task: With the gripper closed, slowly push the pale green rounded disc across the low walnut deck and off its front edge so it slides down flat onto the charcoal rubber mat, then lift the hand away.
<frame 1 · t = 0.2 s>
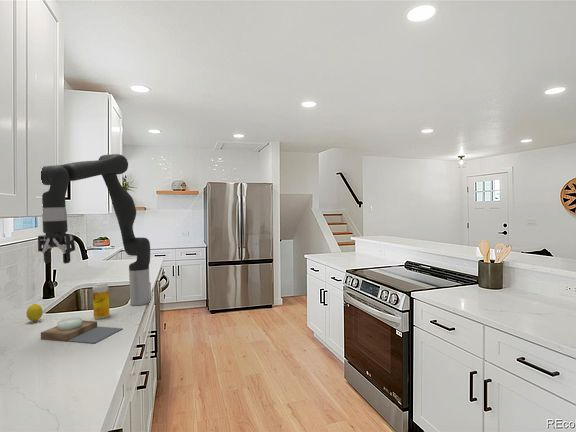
hand: (57, 263, 124), 28 cm above the countertop, fingers open, 8 cm apart
deck: (70, 333, 129), on the countertop
pale green rounded disc: (70, 326, 129), point 2 cm above the countertop, touching deck
mat: (96, 335, 127), on the countertop
lemon: (35, 322, 143), on the countertop
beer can: (101, 317, 147), on the countertop
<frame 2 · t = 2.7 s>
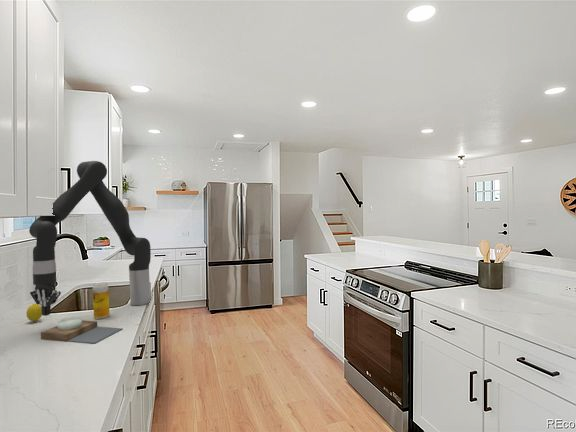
hand: (46, 315, 131), 7 cm above the countertop, fingers closed
nothing on the countertop moved.
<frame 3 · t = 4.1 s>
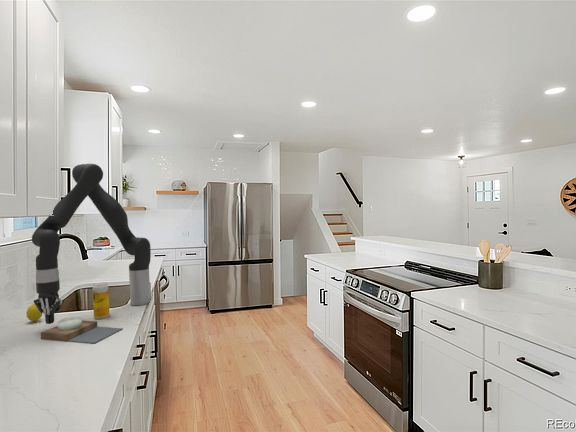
hand: (49, 323, 132), 3 cm above the countertop, fingers closed
nothing on the countertop moved.
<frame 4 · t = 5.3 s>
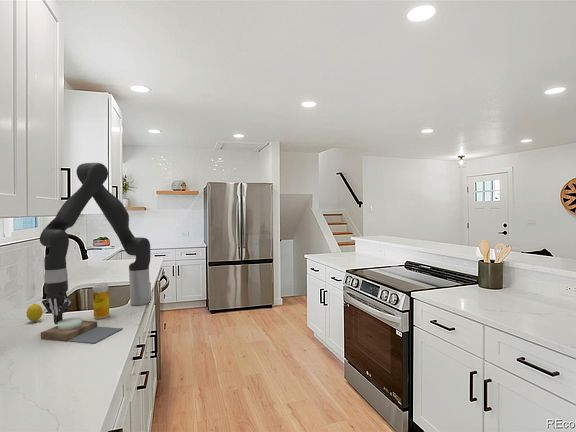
hand: (58, 323, 131), 3 cm above the countertop, fingers closed
pale green rounded disc: (70, 326, 129), point 3 cm above the countertop, touching deck, gripper
everything else where it was.
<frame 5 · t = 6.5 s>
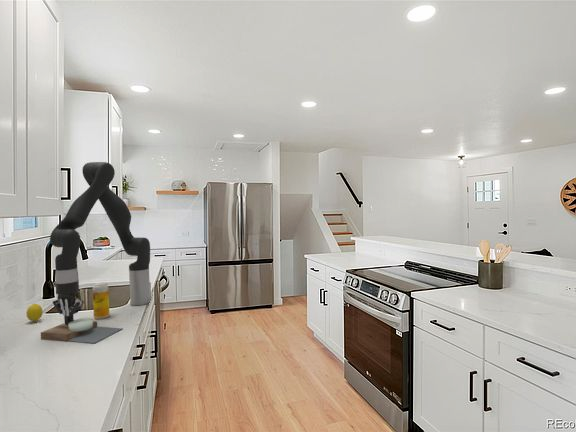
hand: (69, 324, 129), 3 cm above the countertop, fingers closed
pale green rounded disc: (81, 327, 128), point 2 cm above the countertop, touching deck
everything else where it was.
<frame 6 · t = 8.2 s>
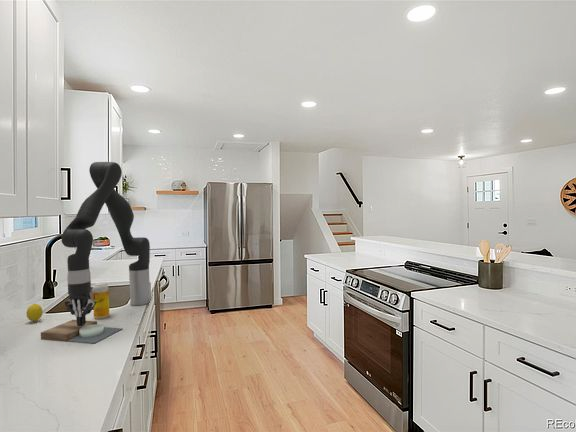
hand: (81, 325, 128), 3 cm above the countertop, fingers closed
pale green rounded disc: (91, 334, 127), resting on mat
everything else where it was.
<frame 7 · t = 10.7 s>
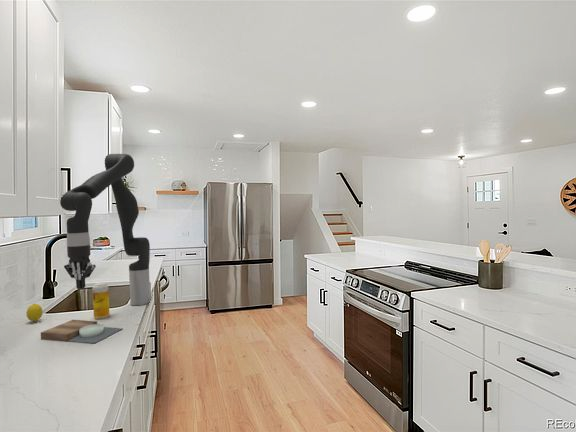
hand: (80, 288, 128), 17 cm above the countertop, fingers closed
nothing on the countertop moved.
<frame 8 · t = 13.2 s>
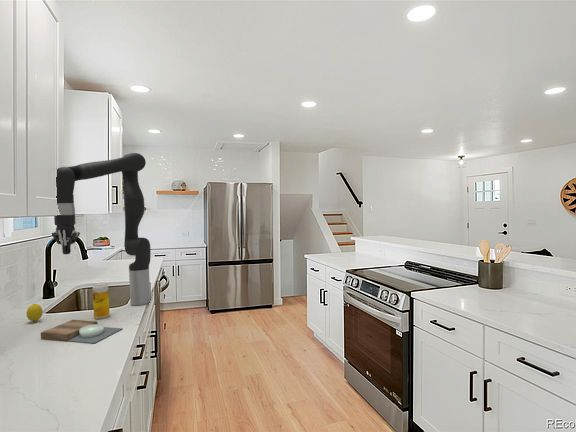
hand: (66, 254, 143), 29 cm above the countertop, fingers closed
nothing on the countertop moved.
at the end: pale green rounded disc inside the target area (2.3 cm from its centre), resting on mat; pale green rounded disc tilted 0°; pale green rounded disc touching mat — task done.
